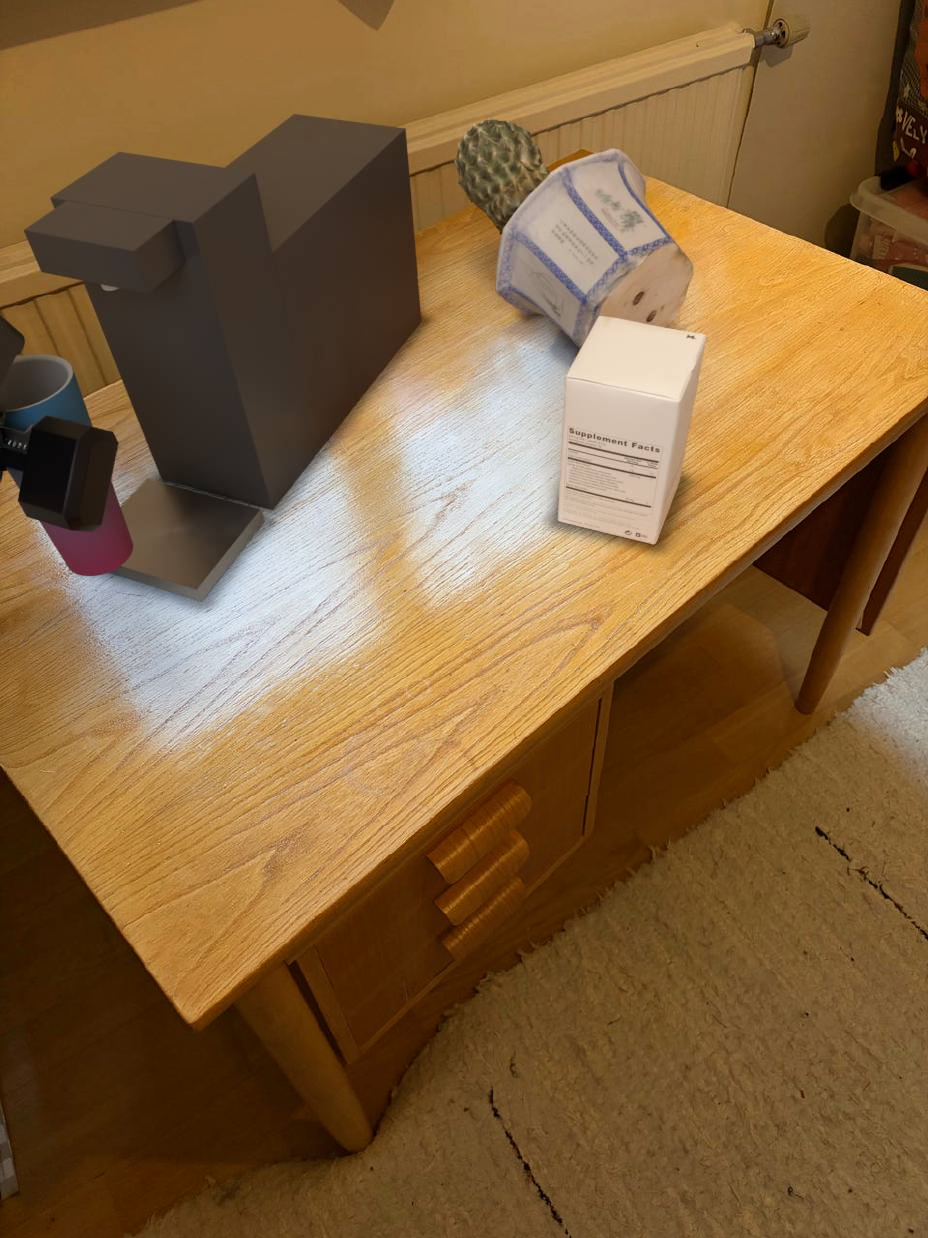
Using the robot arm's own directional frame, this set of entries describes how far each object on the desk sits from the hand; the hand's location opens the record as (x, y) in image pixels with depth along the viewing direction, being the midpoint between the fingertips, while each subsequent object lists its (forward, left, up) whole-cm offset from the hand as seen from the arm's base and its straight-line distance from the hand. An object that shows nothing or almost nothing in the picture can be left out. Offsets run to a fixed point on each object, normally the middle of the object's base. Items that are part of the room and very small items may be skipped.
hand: (73, 464), depth 62 cm
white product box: (+42, -3, -14) cm, 44 cm away
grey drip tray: (+4, +5, -13) cm, 15 cm away
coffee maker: (+17, +21, -13) cm, 30 cm away
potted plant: (+48, +29, -14) cm, 58 cm away
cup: (-1, -1, -8) cm, 8 cm away
